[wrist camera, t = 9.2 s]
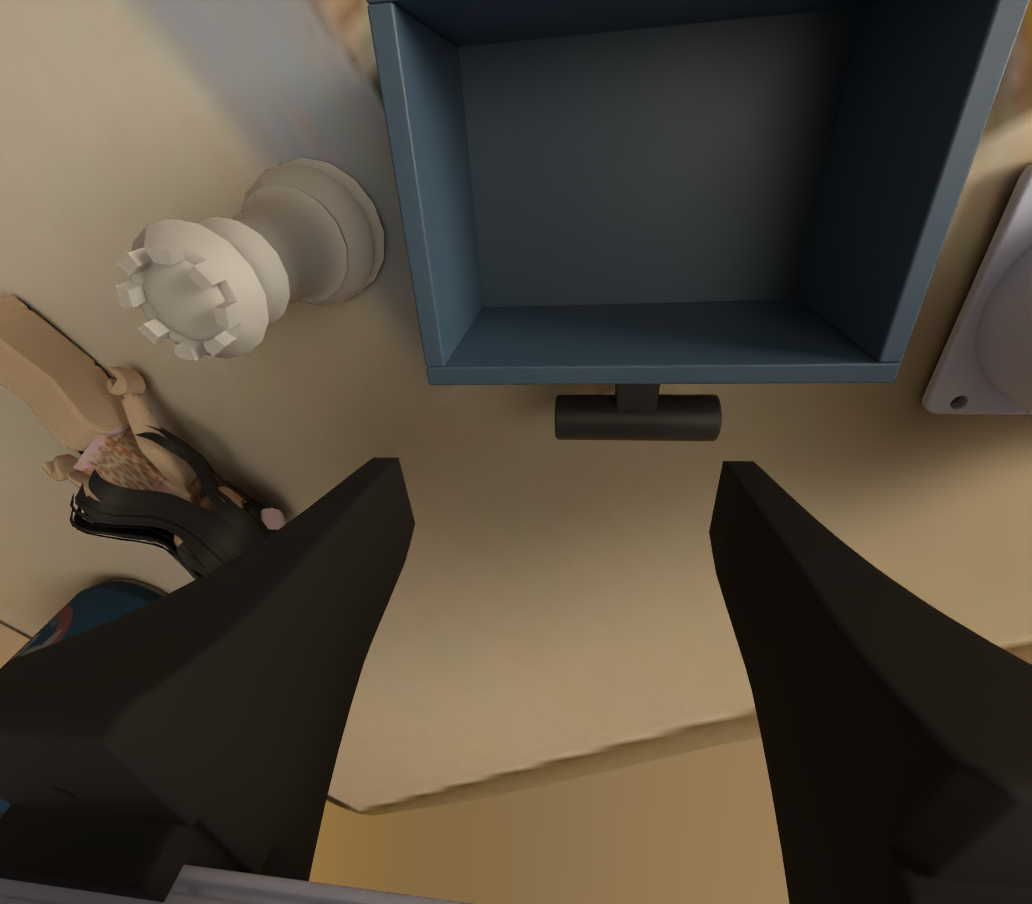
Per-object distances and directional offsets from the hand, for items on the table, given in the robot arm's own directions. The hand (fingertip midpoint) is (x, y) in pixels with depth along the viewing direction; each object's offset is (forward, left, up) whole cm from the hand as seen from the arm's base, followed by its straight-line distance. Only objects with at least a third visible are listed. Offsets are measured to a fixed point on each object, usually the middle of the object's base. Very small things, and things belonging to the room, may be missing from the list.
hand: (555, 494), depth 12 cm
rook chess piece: (+8, -4, -9) cm, 13 cm away
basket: (-2, -4, -9) cm, 10 cm away
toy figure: (+19, +5, -9) cm, 22 cm away
